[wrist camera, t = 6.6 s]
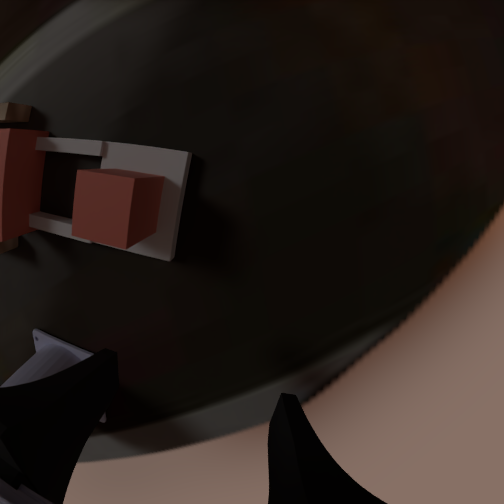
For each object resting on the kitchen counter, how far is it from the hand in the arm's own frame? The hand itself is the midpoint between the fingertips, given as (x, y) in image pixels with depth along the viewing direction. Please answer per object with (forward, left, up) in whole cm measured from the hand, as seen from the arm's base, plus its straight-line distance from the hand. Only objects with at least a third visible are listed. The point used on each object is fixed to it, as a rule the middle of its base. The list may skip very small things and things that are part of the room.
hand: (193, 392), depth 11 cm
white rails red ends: (+6, +11, -9) cm, 16 cm away
